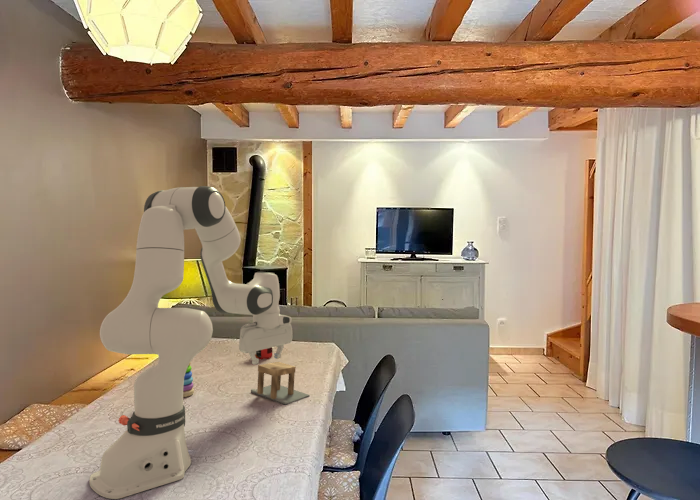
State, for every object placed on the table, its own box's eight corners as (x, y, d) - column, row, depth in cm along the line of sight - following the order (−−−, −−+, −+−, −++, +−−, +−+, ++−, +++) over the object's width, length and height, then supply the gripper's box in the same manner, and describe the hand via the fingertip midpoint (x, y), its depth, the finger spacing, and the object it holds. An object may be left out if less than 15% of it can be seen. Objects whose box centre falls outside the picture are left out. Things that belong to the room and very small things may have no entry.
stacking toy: (186, 399, 168) (185, 344, 167) (165, 397, 169) (164, 342, 168) (198, 391, 175) (197, 338, 174) (177, 389, 177) (176, 337, 176)
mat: (285, 405, 163) (285, 402, 162) (250, 392, 174) (250, 389, 174) (309, 396, 171) (309, 393, 171) (275, 384, 183) (275, 381, 183)
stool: (275, 370, 165) (295, 366, 171) (258, 365, 171) (278, 361, 177) (273, 399, 165) (294, 394, 171) (256, 392, 171) (276, 388, 177)
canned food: (252, 356, 221) (251, 331, 220) (269, 354, 224) (269, 329, 223) (256, 360, 214) (256, 335, 213) (274, 358, 217) (274, 333, 216)
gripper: (246, 326, 157) (247, 369, 158) (295, 317, 172) (295, 356, 173) (234, 323, 161) (235, 365, 162) (283, 314, 176) (283, 353, 177)
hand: (266, 361), depth 167 cm, fingers open, 8 cm apart
